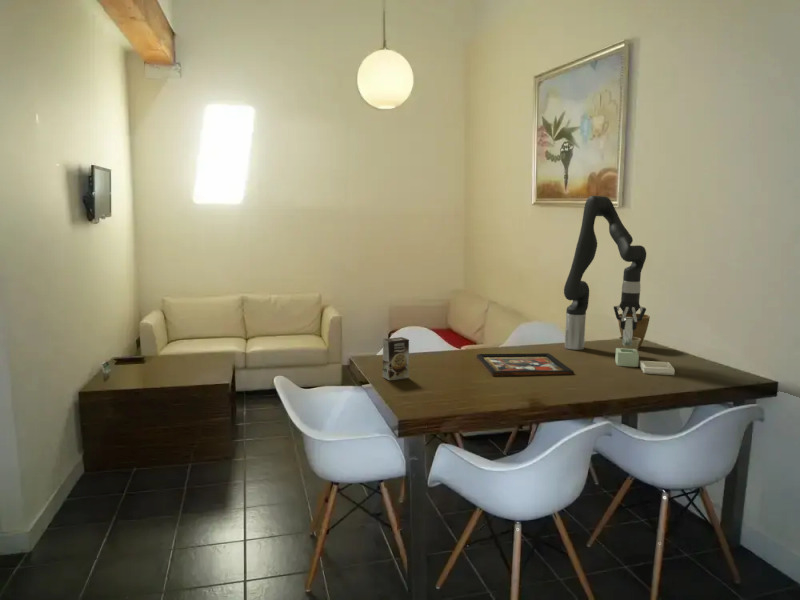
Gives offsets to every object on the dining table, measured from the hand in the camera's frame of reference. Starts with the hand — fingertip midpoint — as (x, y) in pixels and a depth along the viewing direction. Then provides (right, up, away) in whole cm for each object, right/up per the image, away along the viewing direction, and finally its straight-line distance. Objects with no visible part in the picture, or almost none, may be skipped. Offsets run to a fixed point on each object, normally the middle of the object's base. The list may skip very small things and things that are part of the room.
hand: (628, 329), depth 274 cm
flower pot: (+6, -14, +16) cm, 22 cm away
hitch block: (0, -15, +2) cm, 16 cm away
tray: (+9, -17, -9) cm, 21 cm away
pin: (0, -7, +1) cm, 7 cm away
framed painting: (-47, -17, -1) cm, 50 cm away
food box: (-102, -19, -20) cm, 106 cm away
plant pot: (+15, -11, +36) cm, 40 cm away
